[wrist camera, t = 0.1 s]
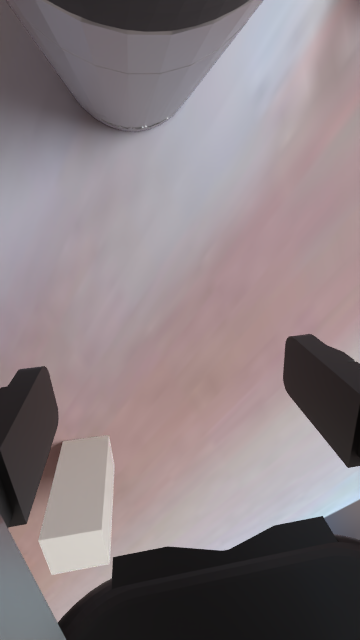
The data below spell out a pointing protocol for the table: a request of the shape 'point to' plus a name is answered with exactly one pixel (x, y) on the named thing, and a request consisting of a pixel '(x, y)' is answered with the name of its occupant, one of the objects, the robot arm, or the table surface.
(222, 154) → the table surface
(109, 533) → the tall white pillar
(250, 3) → the robot arm
